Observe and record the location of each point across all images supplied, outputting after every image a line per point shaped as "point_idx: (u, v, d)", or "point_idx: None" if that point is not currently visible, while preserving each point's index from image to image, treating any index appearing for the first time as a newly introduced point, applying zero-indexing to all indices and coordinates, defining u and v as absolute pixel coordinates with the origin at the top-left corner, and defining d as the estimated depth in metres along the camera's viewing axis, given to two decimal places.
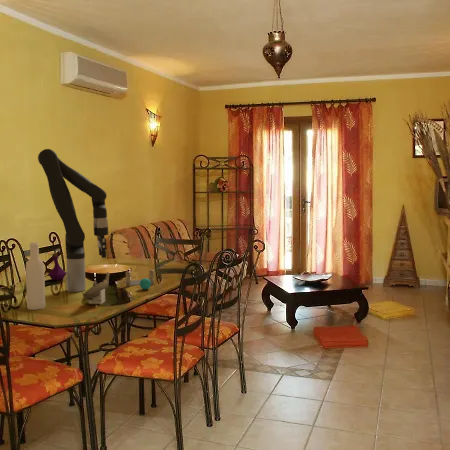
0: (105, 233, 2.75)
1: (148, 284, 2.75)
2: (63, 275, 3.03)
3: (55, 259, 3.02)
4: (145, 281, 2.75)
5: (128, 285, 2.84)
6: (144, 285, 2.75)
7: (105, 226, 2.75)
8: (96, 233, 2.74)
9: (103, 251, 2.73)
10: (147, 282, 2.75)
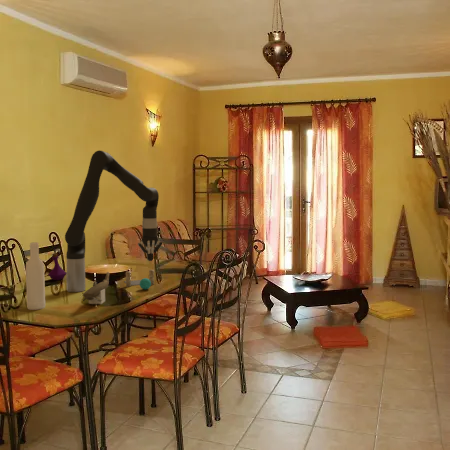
0: (144, 234, 2.63)
1: (148, 284, 2.75)
2: (63, 275, 3.03)
3: (55, 259, 3.02)
4: (145, 281, 2.75)
5: (128, 285, 2.84)
6: (144, 285, 2.75)
7: (144, 227, 2.62)
8: None
9: (147, 254, 2.66)
10: (147, 282, 2.75)
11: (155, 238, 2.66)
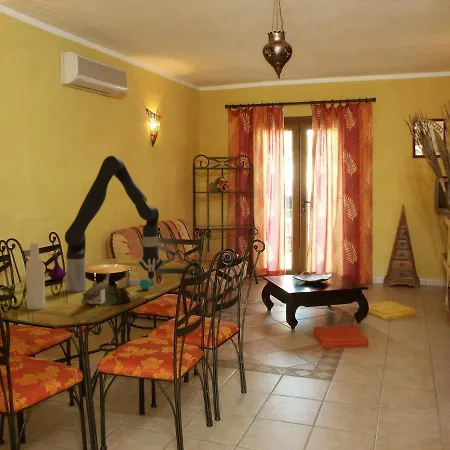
0: (145, 253, 2.64)
1: (148, 284, 2.75)
2: (63, 275, 3.03)
3: (55, 259, 3.02)
4: (145, 281, 2.75)
5: (128, 285, 2.84)
6: (144, 285, 2.75)
7: (145, 245, 2.64)
8: None
9: (148, 272, 2.68)
10: (147, 282, 2.75)
11: (156, 256, 2.67)
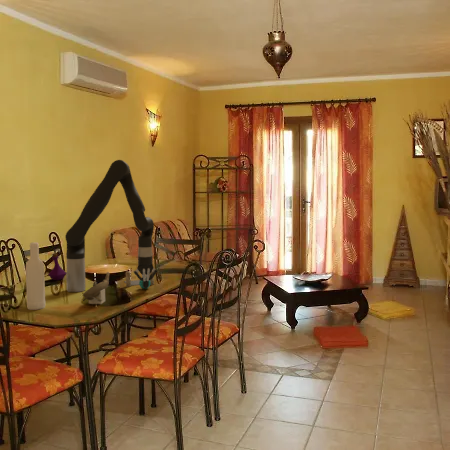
0: (139, 263, 2.71)
1: None
2: (63, 275, 3.03)
3: (55, 259, 3.02)
4: None
5: (128, 285, 2.84)
6: None
7: (140, 256, 2.71)
8: None
9: None
10: None
11: (150, 266, 2.74)
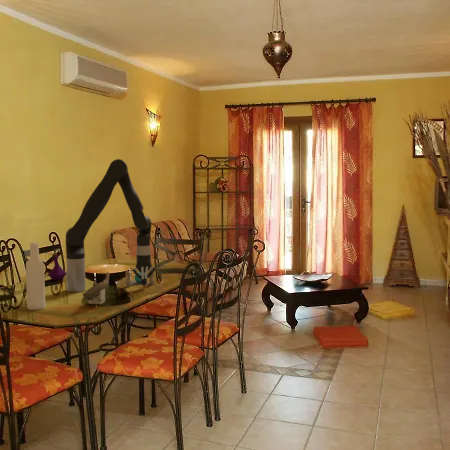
0: (138, 261, 2.76)
1: None
2: (63, 275, 3.03)
3: (55, 259, 3.02)
4: (140, 278, 2.92)
5: (128, 285, 2.84)
6: (138, 281, 2.93)
7: (138, 254, 2.76)
8: None
9: (141, 279, 2.80)
10: None
11: (148, 264, 2.79)
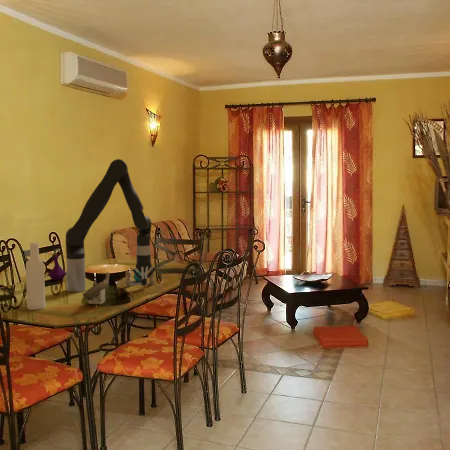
0: (138, 261, 2.76)
1: None
2: (63, 275, 3.03)
3: (55, 259, 3.02)
4: (138, 271, 2.97)
5: (128, 285, 2.84)
6: None
7: (138, 254, 2.76)
8: None
9: (141, 279, 2.80)
10: None
11: (148, 264, 2.79)
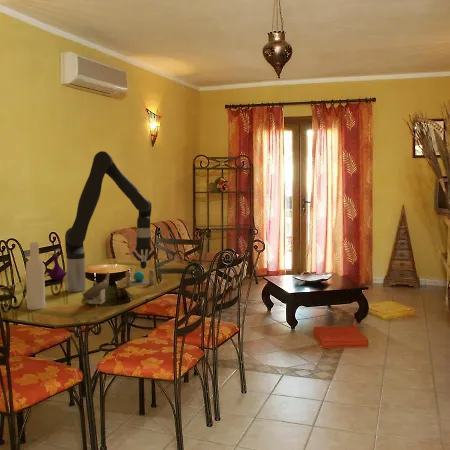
0: (138, 243, 2.75)
1: (141, 274, 2.97)
2: (63, 275, 3.03)
3: (55, 259, 3.02)
4: (138, 271, 2.97)
5: (128, 285, 2.84)
6: (137, 274, 2.95)
7: (138, 236, 2.75)
8: None
9: (140, 262, 2.78)
10: (140, 272, 2.97)
11: (148, 247, 2.78)
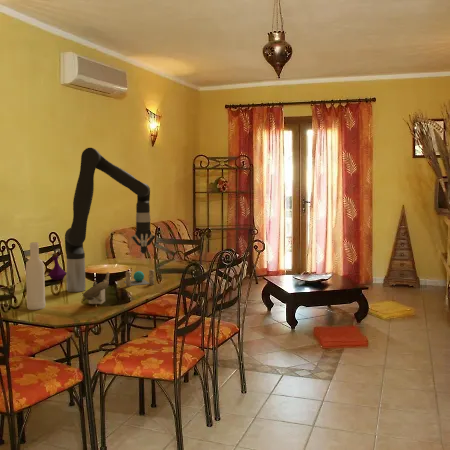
0: (137, 228, 2.75)
1: (141, 274, 2.97)
2: (63, 275, 3.03)
3: (55, 259, 3.02)
4: (138, 271, 2.97)
5: (128, 285, 2.84)
6: (137, 274, 2.95)
7: (138, 221, 2.74)
8: None
9: None
10: (140, 272, 2.97)
11: (148, 231, 2.78)
